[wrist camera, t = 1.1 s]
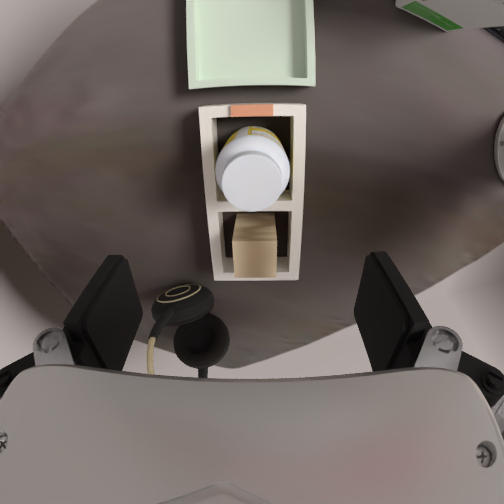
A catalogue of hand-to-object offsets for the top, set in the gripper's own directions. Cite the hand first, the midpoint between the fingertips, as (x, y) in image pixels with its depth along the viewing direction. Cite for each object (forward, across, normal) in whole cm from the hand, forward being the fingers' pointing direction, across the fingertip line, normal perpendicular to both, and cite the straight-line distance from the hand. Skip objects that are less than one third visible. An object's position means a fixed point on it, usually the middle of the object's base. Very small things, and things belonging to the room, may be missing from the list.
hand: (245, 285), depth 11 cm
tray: (+24, 0, -14) cm, 28 cm away
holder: (+24, 0, +5) cm, 24 cm away
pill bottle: (+24, 0, 0) cm, 24 cm away
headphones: (+24, +9, +22) cm, 34 cm away
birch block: (+24, 0, +10) cm, 26 cm away
